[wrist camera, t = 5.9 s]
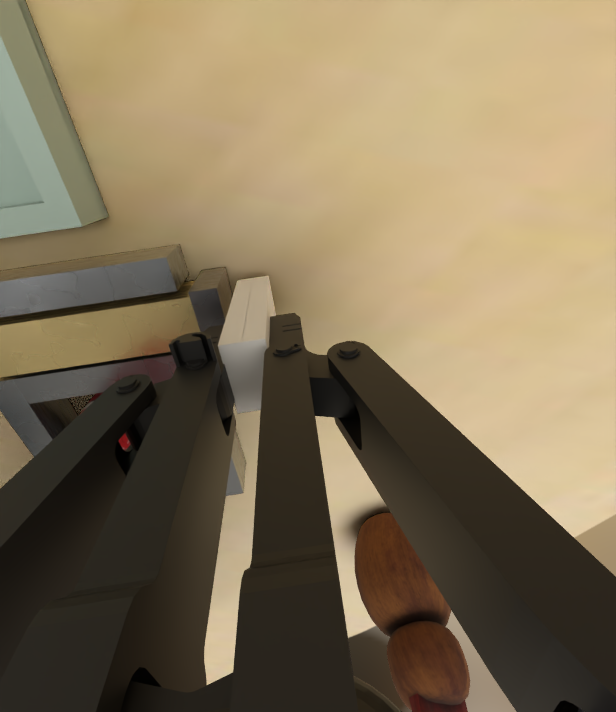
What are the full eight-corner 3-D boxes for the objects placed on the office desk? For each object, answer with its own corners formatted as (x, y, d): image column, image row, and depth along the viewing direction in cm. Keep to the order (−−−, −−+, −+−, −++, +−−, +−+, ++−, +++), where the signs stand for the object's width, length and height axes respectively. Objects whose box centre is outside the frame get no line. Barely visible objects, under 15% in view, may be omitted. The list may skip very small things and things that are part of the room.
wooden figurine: (334, 523, 29) (385, 825, 16) (393, 490, 27) (502, 791, 14) (377, 556, 32) (449, 833, 19) (432, 528, 30) (552, 806, 17)
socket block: (96, 486, 24) (79, 519, 22) (-39, 276, 17) (-85, 294, 15) (246, 463, 24) (243, 493, 22) (179, 244, 17) (166, 257, 15)
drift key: (-2, 364, 19) (-48, 400, 16) (-41, 306, 17) (-101, 335, 14) (240, 328, 19) (235, 357, 16) (225, 267, 17) (216, 288, 15)
